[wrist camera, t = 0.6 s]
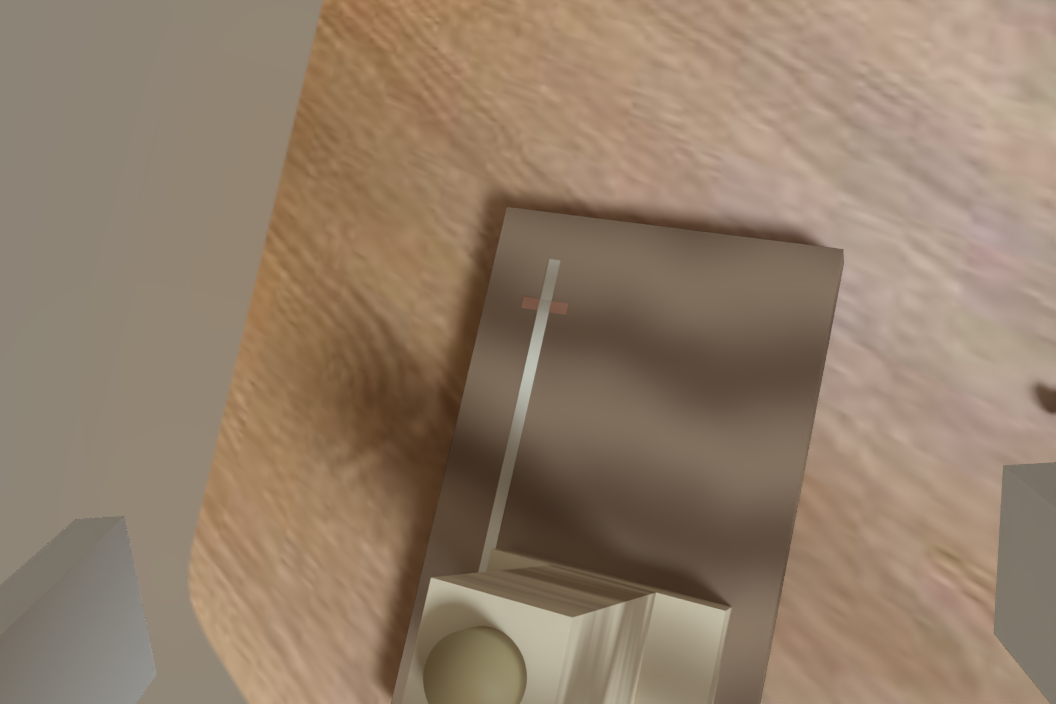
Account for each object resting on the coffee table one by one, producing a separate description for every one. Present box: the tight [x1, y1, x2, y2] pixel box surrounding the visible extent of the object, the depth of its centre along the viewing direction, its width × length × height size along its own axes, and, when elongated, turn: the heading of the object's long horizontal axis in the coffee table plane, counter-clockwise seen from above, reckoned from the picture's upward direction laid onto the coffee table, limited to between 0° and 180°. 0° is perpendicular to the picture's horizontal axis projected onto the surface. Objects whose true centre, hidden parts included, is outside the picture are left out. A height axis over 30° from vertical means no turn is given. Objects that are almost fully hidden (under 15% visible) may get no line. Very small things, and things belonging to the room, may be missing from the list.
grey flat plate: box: [391, 207, 844, 704], centre depth 38 cm, size 22×14×2 cm, turn 166°
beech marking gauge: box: [402, 548, 732, 704], centre depth 30 cm, size 4×9×14 cm, turn 77°
